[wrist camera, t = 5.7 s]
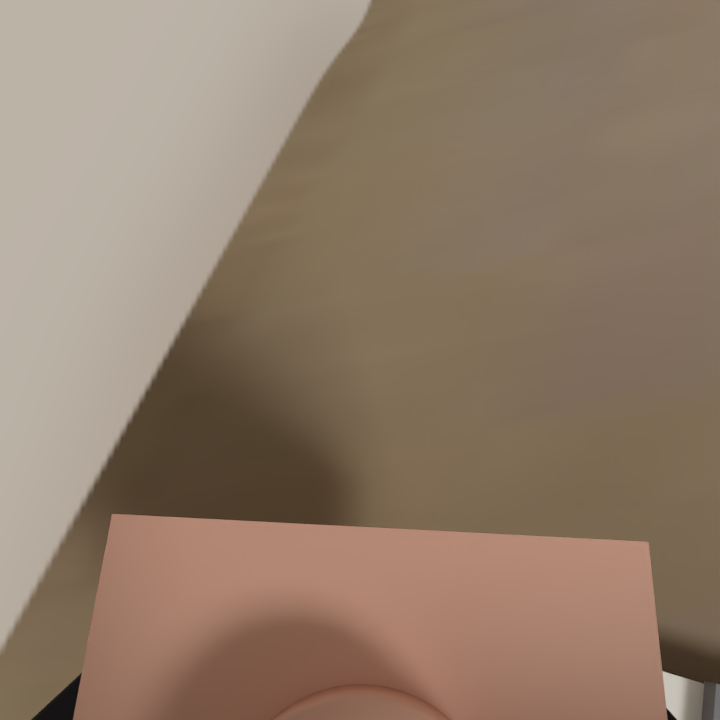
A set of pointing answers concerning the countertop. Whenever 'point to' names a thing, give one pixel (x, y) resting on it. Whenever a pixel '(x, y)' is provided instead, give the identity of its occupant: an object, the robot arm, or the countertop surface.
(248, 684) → the pillar
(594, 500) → the countertop surface
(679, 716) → the build board
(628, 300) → the countertop surface
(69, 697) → the robot arm
